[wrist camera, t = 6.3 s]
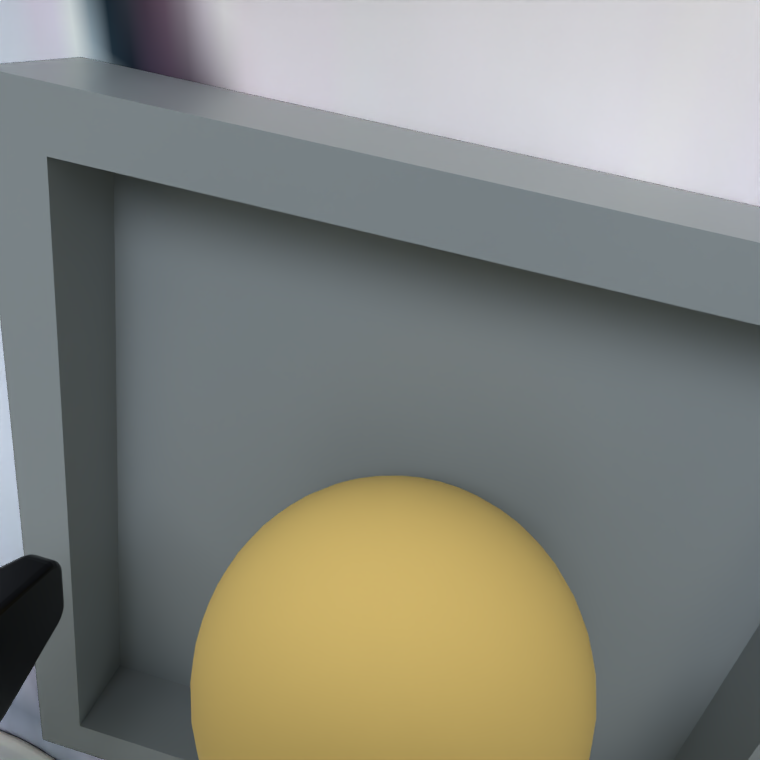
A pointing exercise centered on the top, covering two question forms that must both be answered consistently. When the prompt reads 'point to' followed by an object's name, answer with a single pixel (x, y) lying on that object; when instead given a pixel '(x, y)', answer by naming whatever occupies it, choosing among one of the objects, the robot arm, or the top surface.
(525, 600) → the ball
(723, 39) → the top surface
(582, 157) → the top surface
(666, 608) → the tray
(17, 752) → the lidded jar
